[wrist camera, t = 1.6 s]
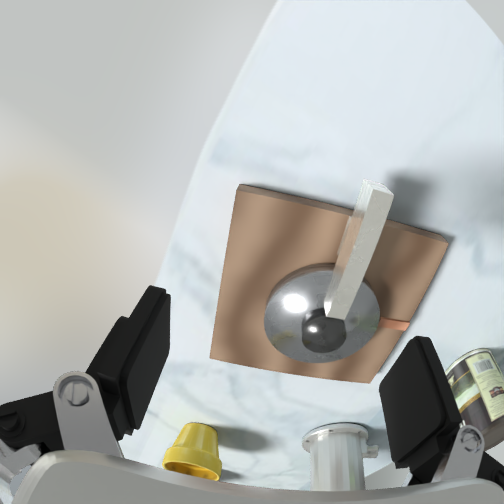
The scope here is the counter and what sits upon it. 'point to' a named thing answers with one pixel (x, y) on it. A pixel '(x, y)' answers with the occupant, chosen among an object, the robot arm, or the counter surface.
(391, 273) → the dial board
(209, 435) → the plant pot
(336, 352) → the dial
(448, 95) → the counter surface
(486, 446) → the coffee can
